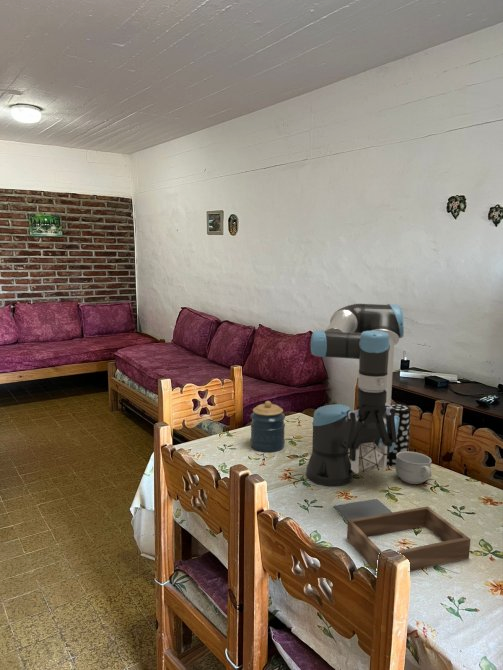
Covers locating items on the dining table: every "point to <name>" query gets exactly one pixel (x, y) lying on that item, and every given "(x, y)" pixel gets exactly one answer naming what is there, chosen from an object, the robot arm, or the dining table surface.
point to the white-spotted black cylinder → (401, 432)
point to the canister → (267, 428)
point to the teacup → (413, 467)
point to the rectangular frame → (419, 557)
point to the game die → (369, 456)
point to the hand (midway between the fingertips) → (368, 469)
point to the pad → (362, 509)
